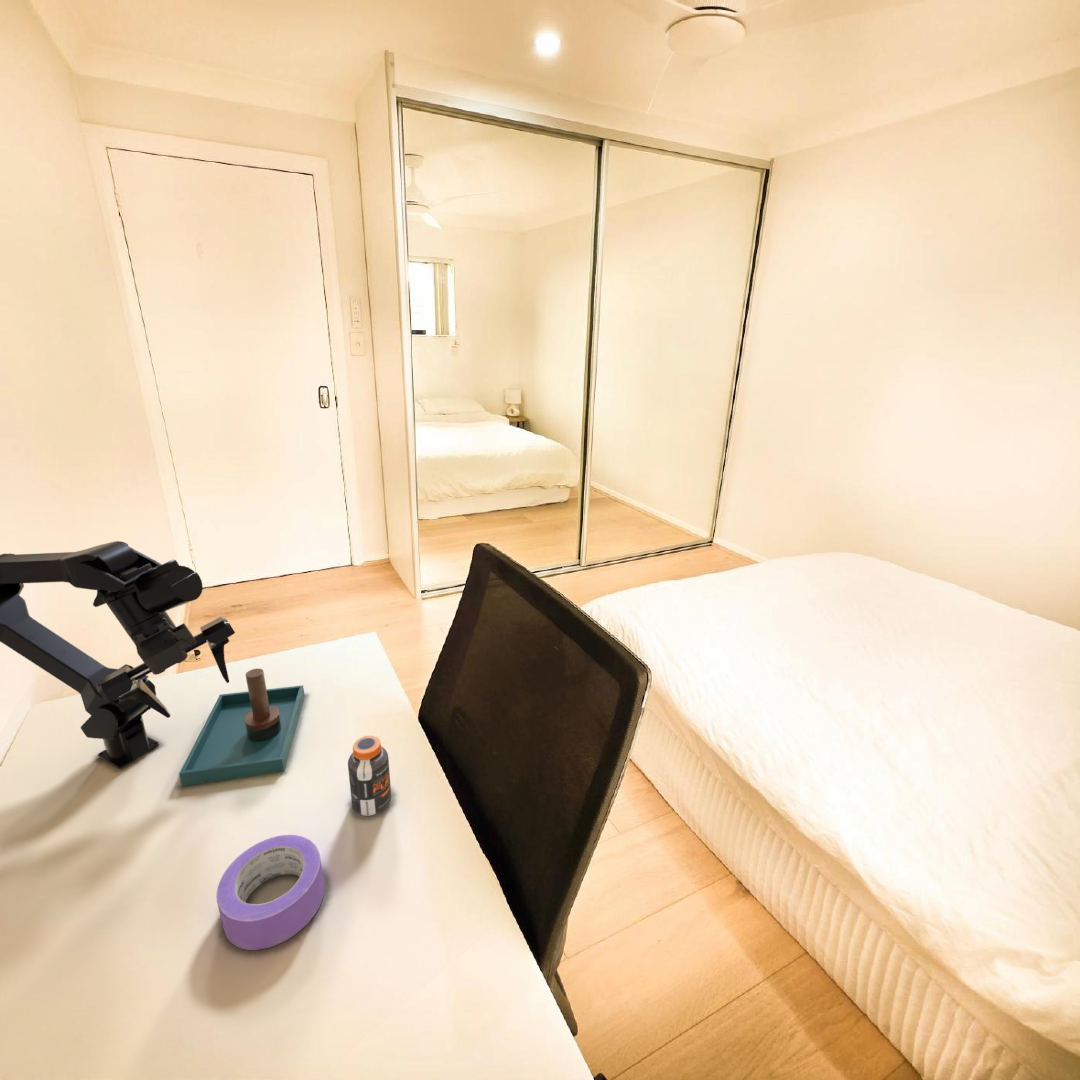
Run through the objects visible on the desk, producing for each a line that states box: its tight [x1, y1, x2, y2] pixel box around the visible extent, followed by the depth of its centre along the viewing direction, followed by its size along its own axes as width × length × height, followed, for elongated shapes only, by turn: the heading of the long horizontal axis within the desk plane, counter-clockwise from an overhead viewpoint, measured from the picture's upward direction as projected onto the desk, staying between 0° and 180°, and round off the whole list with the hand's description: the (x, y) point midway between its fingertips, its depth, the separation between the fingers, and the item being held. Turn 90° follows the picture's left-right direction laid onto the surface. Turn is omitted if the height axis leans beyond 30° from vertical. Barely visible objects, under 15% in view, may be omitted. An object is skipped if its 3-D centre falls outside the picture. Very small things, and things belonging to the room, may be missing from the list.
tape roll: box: [216, 834, 326, 951], centre depth 67 cm, size 12×12×5 cm
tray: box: [178, 684, 306, 787], centre depth 96 cm, size 21×15×3 cm
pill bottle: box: [347, 735, 392, 817], centre depth 82 cm, size 6×6×11 cm
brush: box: [245, 668, 281, 742], centre depth 95 cm, size 6×6×12 cm
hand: (199, 698), depth 87 cm, fingers open, 9 cm apart
